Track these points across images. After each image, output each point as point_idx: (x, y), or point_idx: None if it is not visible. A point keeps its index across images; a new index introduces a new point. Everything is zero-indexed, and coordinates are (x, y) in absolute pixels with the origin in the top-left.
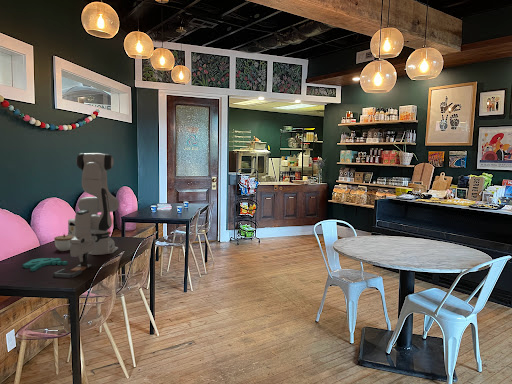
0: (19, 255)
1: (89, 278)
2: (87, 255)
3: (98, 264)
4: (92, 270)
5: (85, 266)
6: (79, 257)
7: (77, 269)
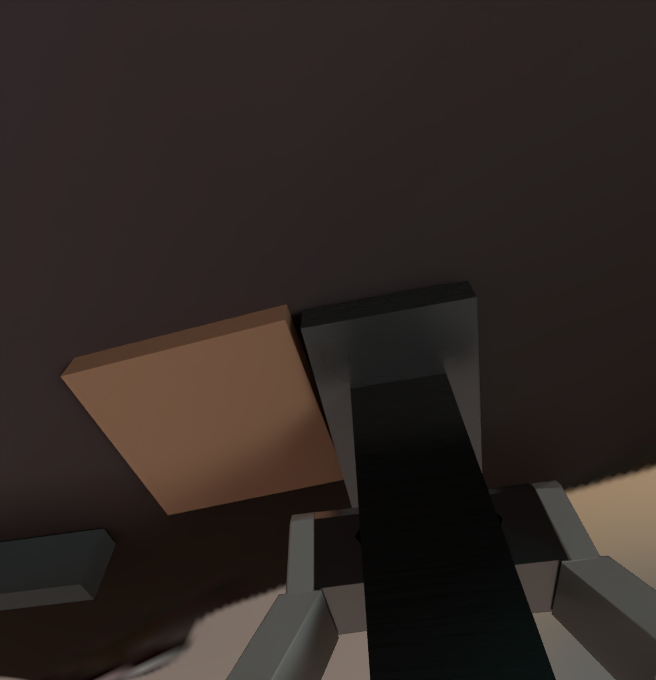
0: None
1: (52, 668)
2: (599, 659)
3: (634, 466)
4: None
5: (346, 480)
6: (246, 670)
7: (157, 457)
